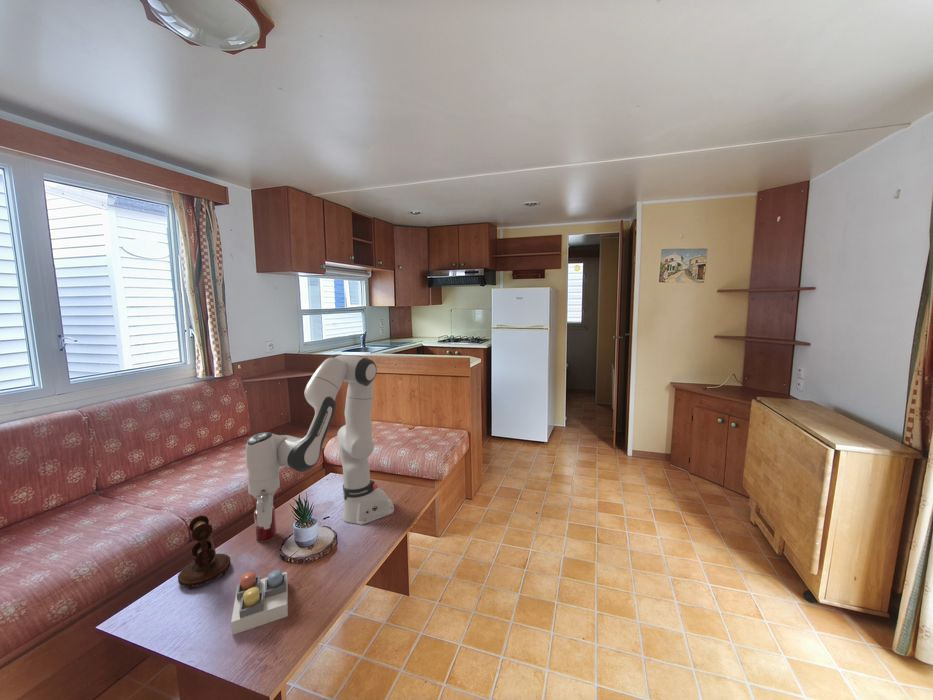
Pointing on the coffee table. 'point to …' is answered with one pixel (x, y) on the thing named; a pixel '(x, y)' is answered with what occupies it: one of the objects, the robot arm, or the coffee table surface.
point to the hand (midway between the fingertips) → (267, 524)
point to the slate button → (275, 579)
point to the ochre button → (251, 597)
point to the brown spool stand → (203, 557)
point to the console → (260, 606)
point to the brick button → (248, 580)
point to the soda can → (262, 533)
